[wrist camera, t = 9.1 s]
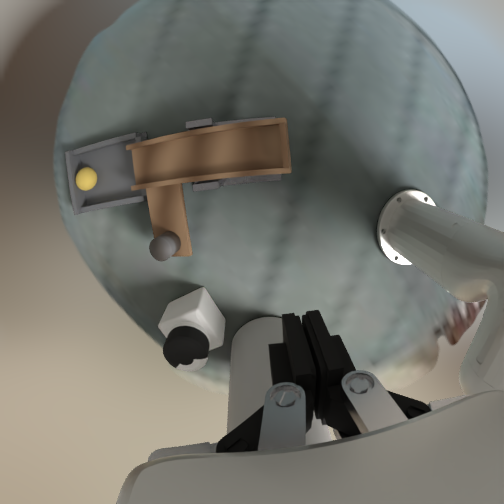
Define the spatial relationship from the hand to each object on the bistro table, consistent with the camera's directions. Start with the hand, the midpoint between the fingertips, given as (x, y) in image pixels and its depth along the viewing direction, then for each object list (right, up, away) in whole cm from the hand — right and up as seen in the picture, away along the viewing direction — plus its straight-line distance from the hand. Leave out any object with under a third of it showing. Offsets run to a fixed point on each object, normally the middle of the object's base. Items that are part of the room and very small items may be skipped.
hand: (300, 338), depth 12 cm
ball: (-27, +15, +23) cm, 38 cm away
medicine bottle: (-11, -6, +33) cm, 35 cm away
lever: (-7, +11, +21) cm, 25 cm away
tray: (-23, +16, +25) cm, 37 cm away
